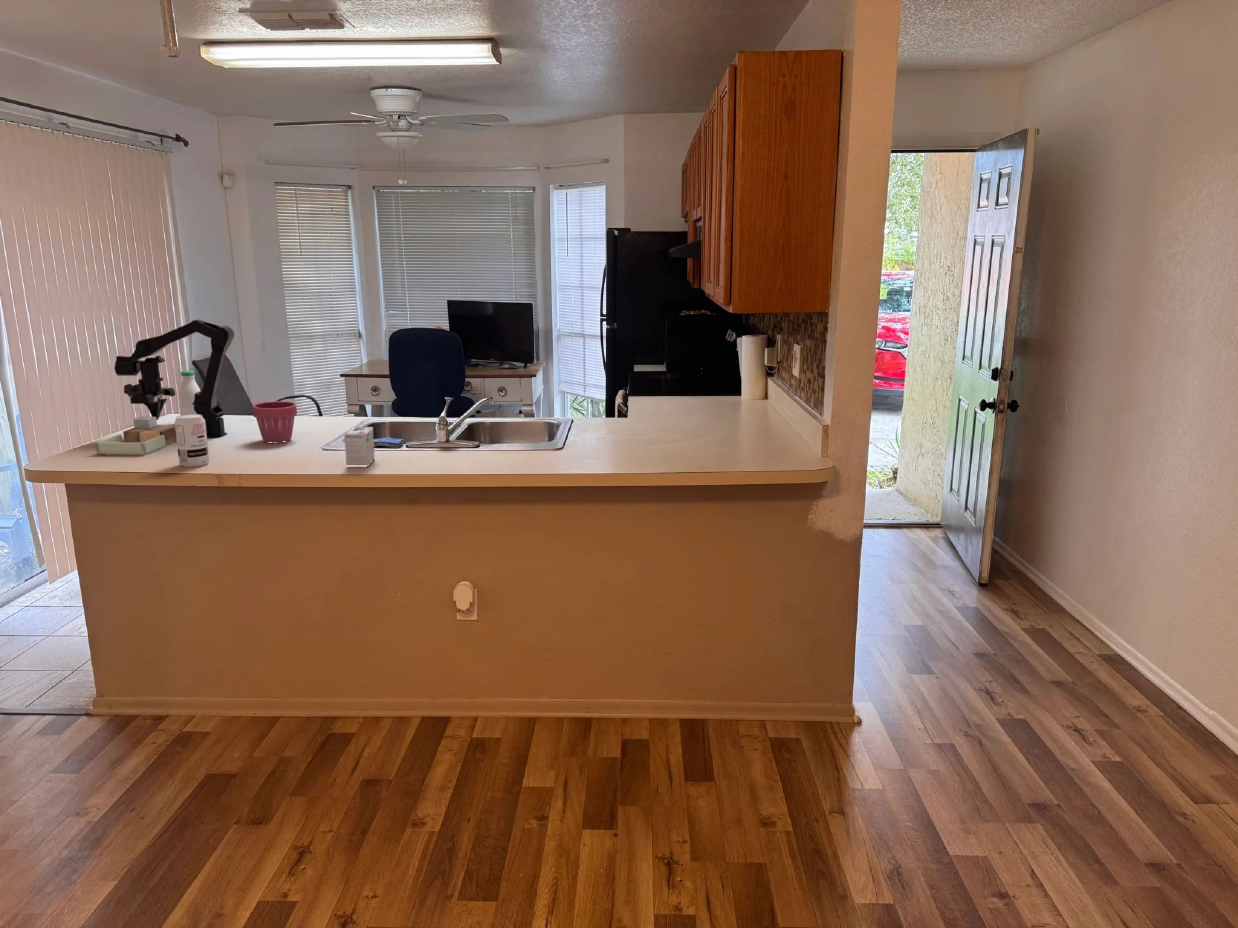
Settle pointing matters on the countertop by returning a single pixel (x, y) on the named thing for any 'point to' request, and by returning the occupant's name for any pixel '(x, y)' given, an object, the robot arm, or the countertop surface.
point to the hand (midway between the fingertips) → (156, 420)
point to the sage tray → (129, 446)
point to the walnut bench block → (165, 430)
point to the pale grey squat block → (145, 422)
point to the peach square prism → (148, 435)
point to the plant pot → (275, 420)
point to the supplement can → (191, 440)
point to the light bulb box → (359, 446)
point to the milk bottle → (187, 392)
